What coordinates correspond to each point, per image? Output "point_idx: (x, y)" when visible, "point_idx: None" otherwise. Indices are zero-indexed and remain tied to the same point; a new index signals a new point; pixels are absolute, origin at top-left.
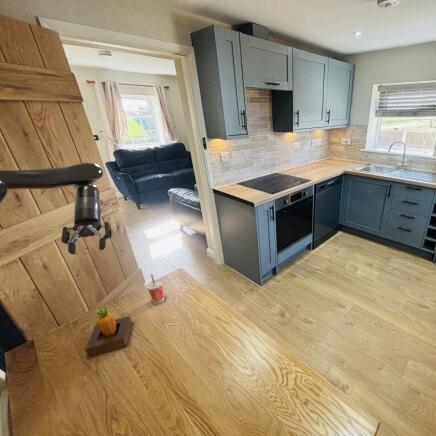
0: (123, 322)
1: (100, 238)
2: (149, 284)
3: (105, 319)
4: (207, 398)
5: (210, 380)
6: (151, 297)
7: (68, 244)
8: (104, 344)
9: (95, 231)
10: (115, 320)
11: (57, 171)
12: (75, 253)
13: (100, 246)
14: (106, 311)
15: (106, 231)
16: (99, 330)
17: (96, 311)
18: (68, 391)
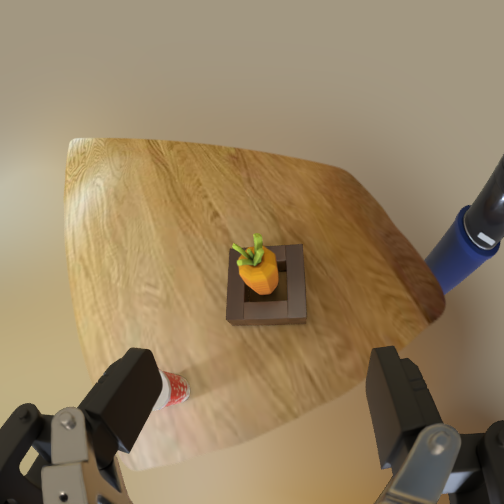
0: (237, 299)
1: (84, 416)
2: (160, 395)
3: (249, 248)
4: (141, 161)
5: (131, 177)
6: (180, 381)
7: (441, 424)
8: (266, 247)
9: (61, 495)
10: (258, 314)
11: None
12: (366, 393)
13: (128, 355)
14: (239, 246)
15: (7, 442)
16: (289, 291)
17: (259, 235)
18: (309, 200)
